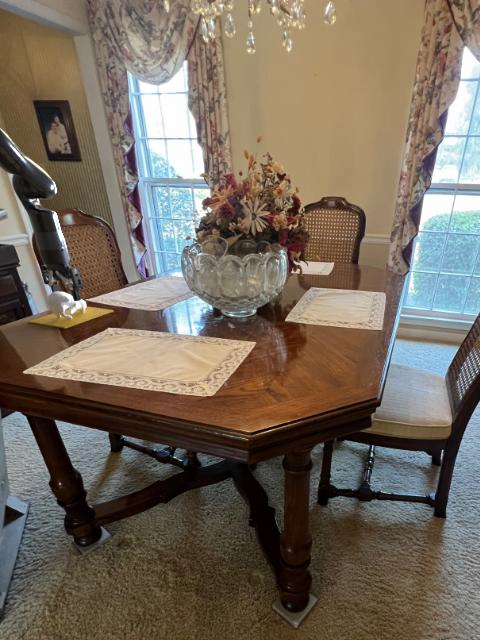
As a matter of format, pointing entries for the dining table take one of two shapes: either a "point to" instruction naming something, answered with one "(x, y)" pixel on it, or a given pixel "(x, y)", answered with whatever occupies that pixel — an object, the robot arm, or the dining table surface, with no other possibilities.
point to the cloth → (76, 317)
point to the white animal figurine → (64, 304)
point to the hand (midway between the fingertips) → (67, 299)
